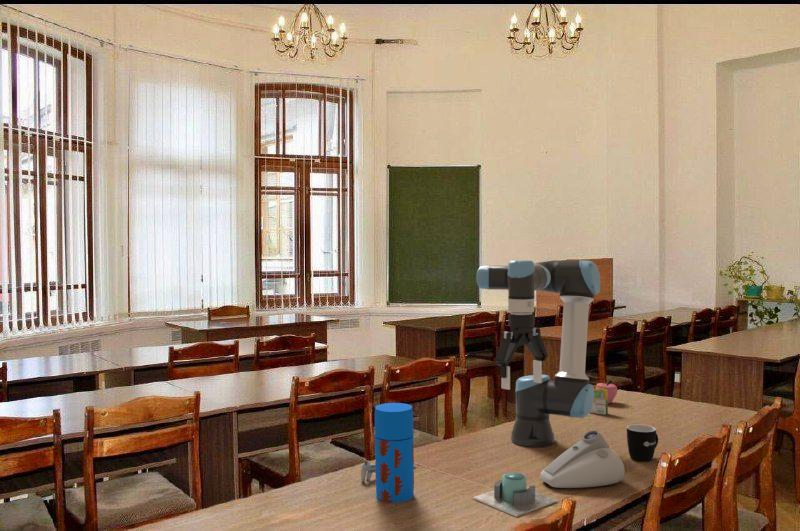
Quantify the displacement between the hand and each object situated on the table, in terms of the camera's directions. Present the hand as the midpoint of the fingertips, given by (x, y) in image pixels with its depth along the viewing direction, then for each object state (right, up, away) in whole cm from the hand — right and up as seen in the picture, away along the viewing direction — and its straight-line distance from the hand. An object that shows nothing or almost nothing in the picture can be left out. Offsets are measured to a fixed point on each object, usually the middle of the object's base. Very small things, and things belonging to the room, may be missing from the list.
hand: (521, 385), depth 199 cm
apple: (+54, -25, +97) cm, 114 cm away
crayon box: (+46, -26, +80) cm, 95 cm away
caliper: (-39, -29, +10) cm, 50 cm away
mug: (+44, -28, +22) cm, 56 cm away
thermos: (-37, -30, -8) cm, 48 cm away
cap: (-4, -29, -13) cm, 32 cm away
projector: (+17, -29, +1) cm, 34 cm away
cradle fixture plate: (-4, -29, -13) cm, 32 cm away
